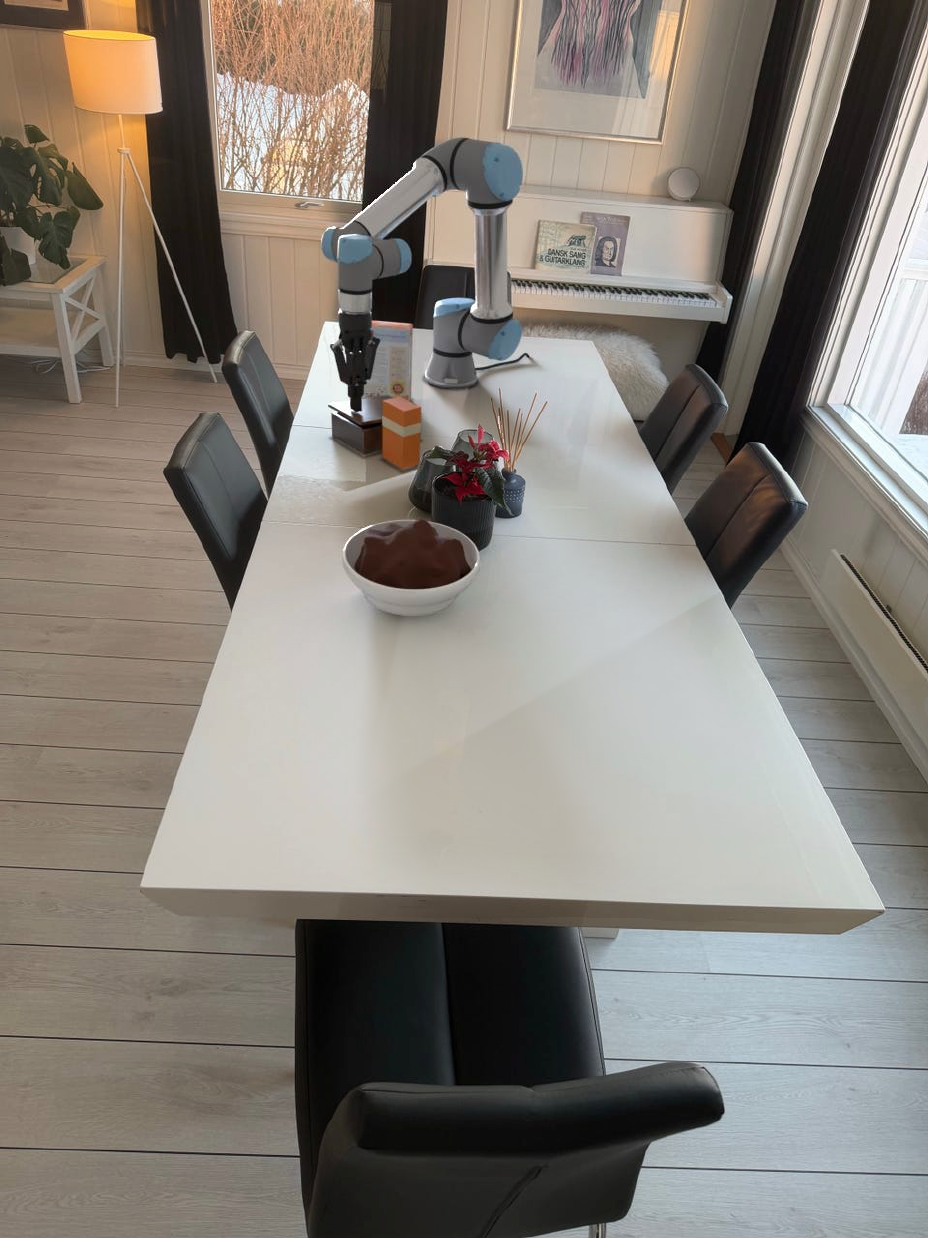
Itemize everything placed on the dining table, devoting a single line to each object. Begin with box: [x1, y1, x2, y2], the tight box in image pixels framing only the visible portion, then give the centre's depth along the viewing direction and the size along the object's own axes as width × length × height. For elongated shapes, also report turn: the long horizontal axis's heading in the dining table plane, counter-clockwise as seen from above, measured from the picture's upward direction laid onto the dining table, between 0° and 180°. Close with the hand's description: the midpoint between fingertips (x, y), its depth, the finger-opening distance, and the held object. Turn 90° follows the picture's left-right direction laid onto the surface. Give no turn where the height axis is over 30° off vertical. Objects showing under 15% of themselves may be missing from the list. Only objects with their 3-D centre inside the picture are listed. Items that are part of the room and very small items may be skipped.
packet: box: [381, 396, 422, 470], centre depth 200 cm, size 5×8×15 cm, turn 42°
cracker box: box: [362, 320, 414, 402], centre depth 230 cm, size 14×6×21 cm, turn 84°
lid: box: [327, 395, 393, 425], centre depth 210 cm, size 18×14×1 cm
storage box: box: [330, 411, 422, 456], centre depth 213 cm, size 18×14×7 cm
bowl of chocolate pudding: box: [341, 518, 481, 617], centre depth 154 cm, size 25×25×15 cm
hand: (356, 409), depth 206 cm, fingers closed
